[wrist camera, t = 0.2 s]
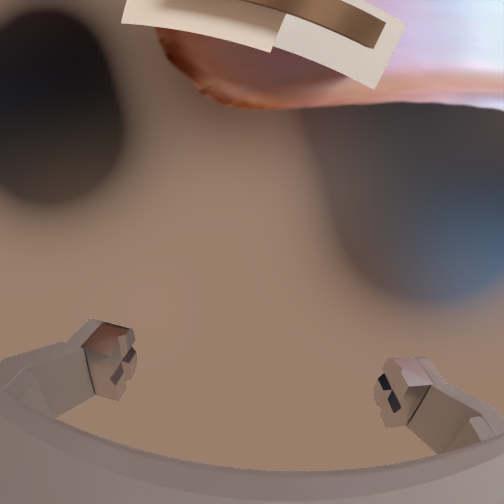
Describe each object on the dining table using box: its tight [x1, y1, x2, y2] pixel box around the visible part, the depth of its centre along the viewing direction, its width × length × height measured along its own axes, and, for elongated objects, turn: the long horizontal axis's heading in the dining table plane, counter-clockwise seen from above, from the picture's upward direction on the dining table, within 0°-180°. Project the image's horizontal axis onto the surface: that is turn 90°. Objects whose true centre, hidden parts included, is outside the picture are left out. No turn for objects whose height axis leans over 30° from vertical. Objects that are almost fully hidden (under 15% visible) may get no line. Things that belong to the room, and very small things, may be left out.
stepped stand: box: [121, 0, 406, 89], centre depth 29 cm, size 31×12×28 cm, turn 72°
